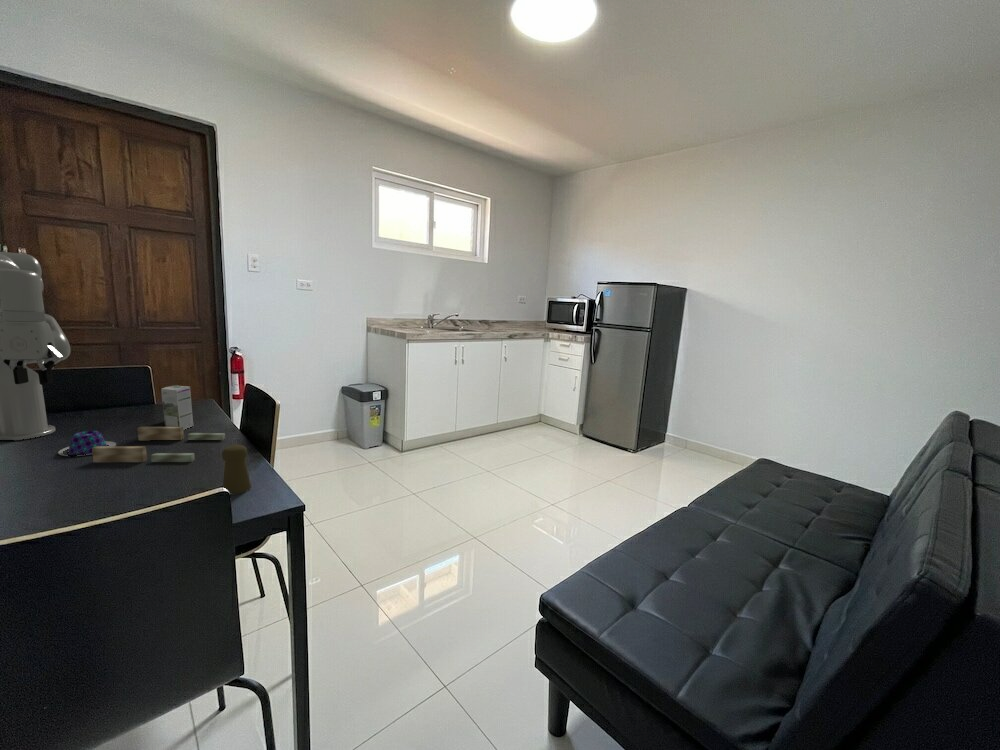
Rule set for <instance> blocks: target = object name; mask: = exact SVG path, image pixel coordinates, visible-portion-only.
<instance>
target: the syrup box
mask: <svg viewBox="0 0 1000 750" xmlns="http://www.w3.org/2000/svg"><path fill="white" fill-rule="evenodd" d="M160 390H161V391H160V392H161V402H162V409H163V410H162V412H163V421H164V423H163V424H164V427H183V431H185V429H186V430H188V429H187V428H189V429H191V428H190V427H192V426H193V427H194V420H193V418H194V416H193V408H192V407H193V406H192V396H191V395H192V394H191V386H186V385H185V386H184V385H169V386H165V387H163V388H162V387H161V389H160ZM193 427H192V428H193Z"/></svg>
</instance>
